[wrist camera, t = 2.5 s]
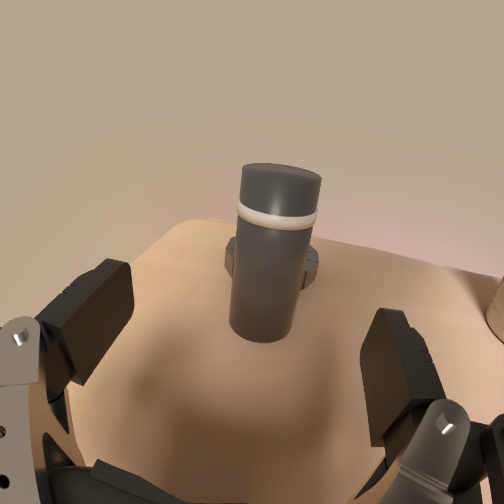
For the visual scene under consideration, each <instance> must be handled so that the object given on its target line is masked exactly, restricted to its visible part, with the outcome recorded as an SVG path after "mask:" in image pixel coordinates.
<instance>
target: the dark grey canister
mask: <svg viewBox="0 0 504 504" xmlns="http://www.w3.org/2000/svg"><path fill="white" fill-rule="evenodd" d="M321 180H322V178H321V177H320V176H319V175H318V174H316V173H314V172H311V171H308V170H305V169H302V168H298V167H292V166H288V165H281V164H271V163H253V164H247V165H244V166H243V168H242V178H241V188H240V196H239V198H238V204H237V213H238V221H237V232H236V243H235V254H234V266H233V278H232V290H231V303H230V316H229V322H230V326H231V327H232V329H233V330H234V332H236V333H237V334H238V335H239V336H241V337H243V338H245V339H247V340H250V341H253V342H259V343H269V342H274V341H278V340H280V339H282V338H284V337H285V336H286V335H287V334H288V333H289V331H290V328H291V324H292V320H293V316H294V312H295V307H296V303H297V299H298V294H299V290H300V285H301V281H302V276H303V272H304V267H305V263H306V258H307V253H308V248H309V243H310V238H311V233H312V228H313V225H314V224H315V220H316V216H317V202H318V197H319V191H320V185H321Z"/></svg>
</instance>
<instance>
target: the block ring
mask: <svg viewBox="0 0 504 504" xmlns="http://www.w3.org/2000/svg"><path fill="white" fill-rule="evenodd" d="M235 243H236V236H235V237H232V238H231V239H230V241H229V243H228V245H227V247H226V253H225V267H226V269H227V271H228V272H229V274H230V276H231V277H232V278H233V266H234V254H235ZM318 264H319V260H318V252H317V251H316V250H315V249H314V248H313V247H311V246H310V245H309V248H308V253H307V258H306V263H305V267H304V272H303V276H302V281H301V285H300V290H302V289H304V288H306V287H307V286H308V285H309V284H311V283H312V282H313V281H314V279H315V276H316V272H317V268H318Z"/></svg>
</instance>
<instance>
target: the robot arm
mask: <svg viewBox="0 0 504 504" xmlns="http://www.w3.org/2000/svg"><path fill="white" fill-rule="evenodd" d="M133 310H134V295H133V286H132V276H131V268H130V265H129V264H128V263H126V262H122V261H118V260H113V259H105V260H104V261H103V262H102V263H101V264H100V265H98V266H97V267H96V268H95V269H94V270H91V271H88V272H86V273H84V274H82V275H80V276H79V277H77V278H76V279H75V280H74V281H73V282H72V283H71V284H70V286H68V287H66V288H65V289H64V290H63V291H62V294H61V293H60V294H59V295H58V296H57V297H56V298H55V299H54V300H53V301H52V302H50V303H49V304H48V305H47V307H46V308H44V309H43V310H42V311H41V312H40V313H39V314H38V315H37V316H36V317H35V318H32V317H26V316H24V317H17V318H14V319H12V320H10V321H9V322H7V323H6V324H5V325H4V326H3V327H0V504H203V503H187V502H184V501H181V500H179V499H178V498H176V497H174V496H172V495H170V494H168V493H167V492H165V491H163V490H161V489H160V488H158V487H156V486H155V485H153V484H151V483H150V482H148V481H146V480H145V479H143V478H142V477H140V476H138V475H135V474H132V473H130V472H127V471H125V470H122V469H120V468H117V467H115V466H112V465H110V464H108V463H106V462H103V461H101V460H99V459H97V460H96V462H95V464H94V466H93V467H87V466H86V465H85V462H84V459H83V456H82V454H81V452H80V450H79V448H78V445H77V443H76V439H75V434H74V428H73V422H72V416H71V409H70V401H69V393H68V389H67V387H66V386H67V385H68V383H69V382H70V381H73V382H75V383H77V384H79V385H81V386H84V384H85V383H86V381H87V380H88V378H89V377H90V375H91V374H92V372H93V371H94V369H95V368H96V367H97V365H98V364H99V362H100V361H101V359H102V358H103V356H104V355H105V354H106V352H107V351H108V349H109V348H110V346H111V345H112V344H113V342H114V341H115V339H116V338H117V337H118V335H119V334H120V332H121V331H122V330H123V328H124V327H125V325H126V324H127V323H128V321H129V320H130V318H131V316H132V314H133ZM486 319H487V322H488V324H489V326H490V328H491V329H492V330H493V332H494V333H495V334H496V335H497V336H498V337H499V339H501V340H502V341H503V342H504V276H503V278H502V281H501V283H500V285H499V287H498V289H497V291H496V293H495V295H494V297H493V299H492V301H491V303H490V305H489V307H488V309H487V312H486ZM428 352H429V350H428V348H427V346H426V343H425V341H424V339H423V338H422V336H421V335H420V334H419V333H418V332H417V331H416V330H415V329H414V328H411V327H410V326H409V324H408V321H407V319H406V317H405V314H404V312H403V311H401V310H393V309H386V308H379V309H378V310H377V312H376V314H375V317H374V319H373V321H372V324H371V326H370V328H369V331H368V333H367V335H366V338H365V340H364V342H363V344H362V347H361V352H360V366H361V372H362V379H363V385H364V392H365V399H366V406H367V414H368V422H369V431H370V440H371V447H385V455H384V456H383V457H382V458H381V459H380V461H379V462H378V464H377V465H376V466H375V468H374V469H373V471H372V472H371V473H370V475H369V476H368V477H367V479H366V480H365V481H364V482H363V484H362V485H361V486H360V488H359V489H358V490H357V491H356V493H355V494H354V495H353V496H352V497H351V499H350V500H349V501H348V502H347V503H346V504H483V502H482V494H481V487H480V482H481V481H482V480H484V479H485V478H486V477H488V479H489V484H490V491H491V497H492V504H504V414H501V415H499V416H497V417H496V418H495V419H494V420H493V421H492V422H491V423H490V425H486V424H481V423H477V422H473V421H470V419H469V416H468V414H467V413H466V411H465V410H464V408H463V407H462V406H460V405H459V404H458V403H456V402H454V401H452V400H449V399H447V398H446V395H445V392H444V390H443V387H442V384H441V381H440V379H439V376H438V373H437V371H436V368H435V365H434V363H432V362H433V360H432V358H431V355H430V353H428ZM224 504H246V503H224Z"/></svg>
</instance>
